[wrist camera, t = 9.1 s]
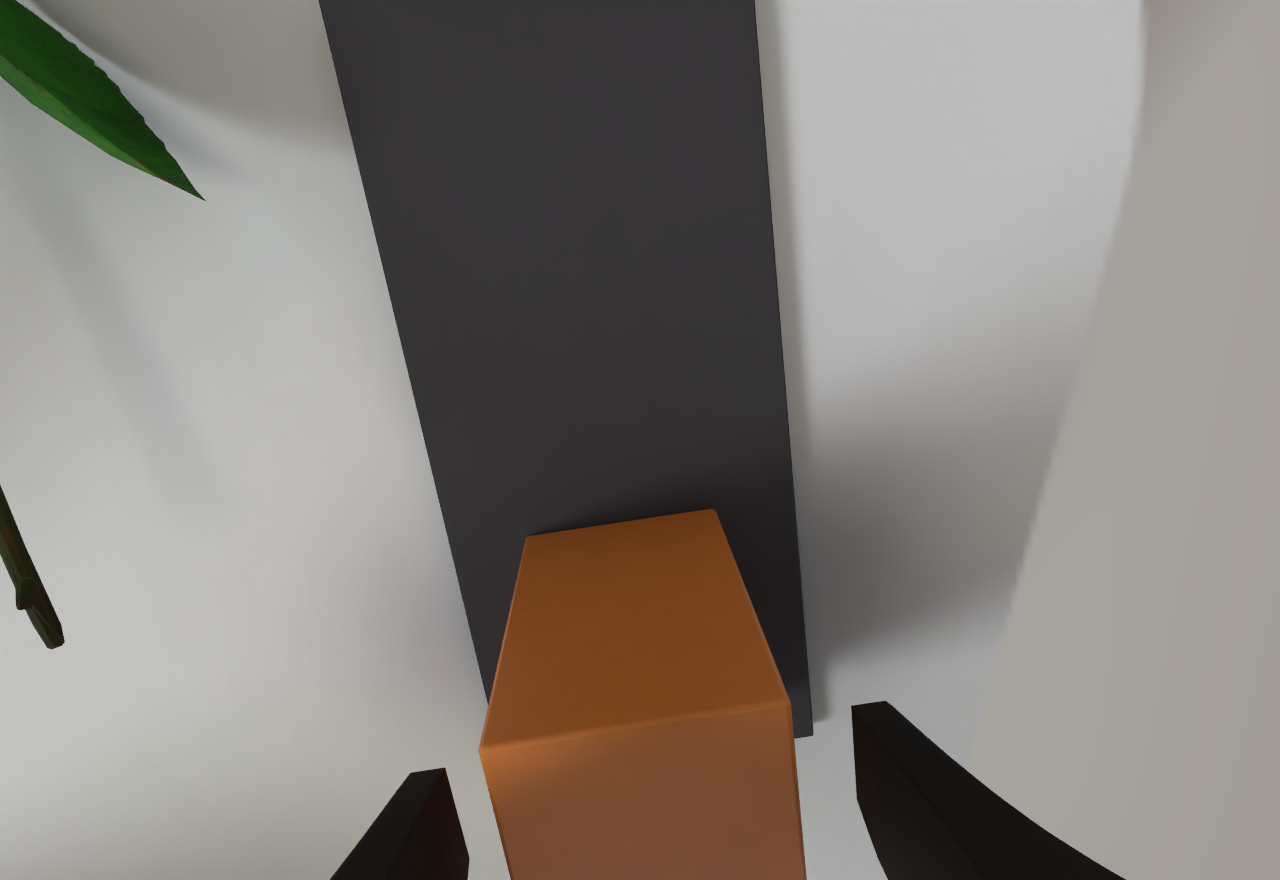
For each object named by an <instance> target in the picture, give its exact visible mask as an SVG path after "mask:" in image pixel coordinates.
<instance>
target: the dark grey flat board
mask: <svg viewBox="0 0 1280 880" xmlns="http://www.w3.org/2000/svg"><path fill="white" fill-rule="evenodd" d="M319 4H320V8H321V12H322V16H323V20H324V25H325V29H326V33H327V37H328V41H329V45H330V50H331V54H332V58H333V62H334V66H335V70H336V74H337V79H338V83H339V87H340V91H341V95H342V99H343V104H344V108H345V112H346V116H347V120H348V124H349V129H350V133H351V137H352V141H353V145H354V149H355V153H356V158H357V162H358V166H359V170H360V174H361V178H362V183H363V187H364V191H365V195H366V199H367V203H368V208H369V212H370V216H371V220H372V224H373V228H374V232H375V237H376V241H377V245H378V249H379V253H380V257H381V262H382V266H383V270H384V274H385V278H386V282H387V286H388V291H389V295H390V299H391V303H392V307H393V311H394V316H395V320H396V324H397V328H398V332H399V336H400V341H401V345H402V349H403V353H404V357H405V361H406V365H407V370H408V374H409V378H410V382H411V386H412V390H413V395H414V399H415V403H416V407H417V411H418V415H419V419H420V424H421V428H422V432H423V436H424V440H425V444H426V449H427V453H428V457H429V461H430V465H431V469H432V474H433V478H434V482H435V486H436V490H437V494H438V498H439V503H440V507H441V511H442V515H443V519H444V523H445V528H446V532H447V536H448V540H449V544H450V548H451V552H452V557H453V561H454V565H455V569H456V573H457V577H458V582H459V586H460V590H461V594H462V598H463V602H464V607H465V611H466V615H467V619H468V623H469V627H470V631H471V636H472V640H473V644H474V648H475V652H476V656H477V661H478V665H479V669H480V673H481V677H482V681H483V686H484V690H485V694H486V698H487V702H488V706H489V701H490V697H491V692H492V688H493V683H494V679H495V674H496V670H497V665H498V661H499V656H500V652H501V648H502V643H503V639H504V634H505V630H506V625H507V621H508V616H509V612H510V607H511V603H512V598H513V594H514V589H515V585H516V580H517V576H518V571H519V567H520V563H521V558H522V554H523V549H524V545H525V540H526V537H528V536H532V535H539V534H546V533H552V532H559V531H566V530H572V529H579V528H586V527H592V526H599V525H606V524H612V523H619V522H626V521H632V520H639V519H645V518H652V517H659V516H665V515H672V514H679V513H685V512H692V511H699V510H705V509H715V511H716V513H717V516H718V518H719V521H720V523H721V526H722V528H723V531H724V533H725V536H726V539H727V541H728V544H729V546H730V549H731V551H732V554H733V556H734V559H735V562H736V564H737V567H738V569H739V572H740V574H741V577H742V579H743V582H744V585H745V587H746V590H747V592H748V595H749V597H750V600H751V602H752V605H753V608H754V610H755V613H756V615H757V618H758V620H759V623H760V625H761V628H762V631H763V633H764V636H765V638H766V641H767V643H768V646H769V648H770V651H771V654H772V656H773V659H774V661H775V664H776V666H777V669H778V671H779V674H780V677H781V679H782V682H783V684H784V687H785V689H786V692H787V694H788V697H789V700H790V702H791V712H792V723H793V734H794V739H795V738H801V737H808V736H813V723H812V711H811V698H810V686H809V673H808V661H807V648H806V636H805V624H804V611H803V599H802V586H801V574H800V561H799V549H798V536H797V524H796V512H795V499H794V487H793V474H792V462H791V449H790V437H789V424H788V412H787V400H786V387H785V375H784V362H783V350H782V337H781V325H780V312H779V300H778V288H777V275H776V263H775V250H774V238H773V225H772V213H771V200H770V188H769V175H768V163H767V151H766V138H765V126H764V113H763V101H762V88H761V76H760V63H759V51H758V39H757V26H756V14H755V1H754V0H319Z"/></svg>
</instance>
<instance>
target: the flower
mask: <svg viewBox="0 0 1280 880" xmlns="http://www.w3.org/2000/svg"><path fill="white" fill-rule="evenodd" d="M0 76H1V77H2V78H3V79H4V80H6V81H7V82H8V83H9V84H10V85H11V86H12V87H13V88H15V89H16V90H17V91H18V92H19V93H20V94H21V95H23V96H24V97H25V98H26V99H27V100H28V101H29V102H31V103H32V104H33V105H35V106H36V107H38V108H39V109H41V110H43V111H44V112H46V113H47V114H49V115H50V116H52V117H53V118H55V119H56V120H58V121H59V122H61V123H62V124H64V125H65V126H67V127H68V128H70V129H71V130H73V131H74V132H76V133H77V134H79V135H81V136H82V137H84V138H85V139H87V140H88V141H90V142H91V143H93V144H94V145H96V146H97V147H99V148H100V149H102V150H103V151H105V152H106V153H108V154H109V155H111V156H113V157H115V158H117V159H119V160H121V161H123V162H125V163H127V164H129V165H131V166H133V167H135V168H138V169H140V170H142V171H144V172H146V173H149V174H151V175H153V176H155V177H157V178H160V179H162V180H164V181H166V182H168V183H170V184H172V185H174V186H176V187H178V188H180V189H182V190H184V191H186V192H188V193H190V194H192V195H194V196H196V197H198V198H200V199H202V200H204V201H206V200H205V199H204V198H203V197H202V196H201V195H200V194H199V193H198V192H197V191H196V190H195V188H194V187H193V186H192V184H191V183H190V181H189V180H188V178H187V177H186V175H185V174H184V172H183V171H182V169H181V168H180V166H179V165H178V163H177V161H176V160H175V159H174V158H173V157H172V156H171V155H170V153H169V152H168V151H167V150H166V148H165V145H164V142H163V141H161V140H160V139H159V138H158V137H157V136H156V135H155V134H154V133H153V131H152V130H151V129H150V128H149V127H148V126H147V125H146V124H145V121H144V117H143V116H142V115H141V114H140V113H139V112H138V111H137V110H136V109H135V108H134V107H133V106H132V105H131V104H130V103H129V102H128V100H127V99H126V98H125V97H124V96H123V95H122V93H121V92H120V89H119V87H118V86H117V85H116V84H115V83H114V82H113V81H111V80H110V79H109V78H108V77H107V75H106V73H105V72H104V71H103V70H101V69H100V68H98V67H97V66H95V65H94V61H93V60H92V59H90V58H89V57H87V56H86V55H85V54H83V53H82V52H81V51H79V50H78V48H77V46H76V45H75V44H73V43H71V42H69V41H67V40H66V39H65V38H64V37H63V36H62V35H61V33H59V32H58V31H56V30H55V29H54V28H52V27H51V26H49V25H48V24H47V23H46V22H44V21H43V20H42V19H40V18H39V17H38V16H36V15H35V14H34V13H33V12H31V11H30V10H28V9H27V8H25V7H24V6H23V5H21V4H20V3H18V2H17V1H16V0H0ZM0 555H1V557H2V559H3V562H4V564H5V566H6V568H7V571H8V573H9V575H10V577H11V580H12V582H13V584H14V586H15V589H16V606H17V609H18V610H23V609H25V610H26V612H27V614H28V616H29V618H30V620H31V622H32V624H33V626H34V628H35V629H36V631H37V632H38V634H39V635H40V637H41V639H42V640H43V642H44V643H45V645H46V646H47V648H50V649H54V648H56V647H59V646H62V645H63V643H64V642H65V641H64V636H63V632H62V627H61V623H60V621H59V619H58V617H57V615H56V613H55V610H54V608H53V606H52V604H51V602H50V599H49V597H48V595H47V593H46V591H45V588H44V586H43V584H42V582H41V580H40V577H39V575H38V573H37V571H36V569H35V567H34V564H33V562H32V560H31V558H30V556H29V553H28V551H27V549H26V547H25V545H24V542H23V540H22V537H21V535H20V532H19V530H18V527H17V525H16V522H15V520H14V518H13V515H12V513H11V510H10V508H9V505H8V503H7V500H6V498H5V496H4V493H3V491H2V488H1V486H0Z"/></svg>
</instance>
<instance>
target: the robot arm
mask: <svg viewBox="0 0 1280 880" xmlns="http://www.w3.org/2000/svg"><path fill="white" fill-rule="evenodd" d="M851 709H852V726H853V742H854V758H855V775H856V791H857V801H858V804H859V806H860V809H861V812H862V815H863V818H864V821H865V824H866V827H867V829H868V832H869V835H870V838H871V841H872V843H873V846H874V849H875V851H876V854H877V857H878V859H879V861H880V864H881V866H882V868H883V870H884V872H885V874H886V876H887V878H888V880H1126V879H1124V878H1122V877H1120V876H1118V875H1117V874H1115V873H1113V872H1111V871H1110V870H1108V869H1106V868H1105V867H1103V866H1101V865H1100V864H1098V863H1096V862H1095V861H1093V860H1091V859H1090V858H1088V857H1087V856H1085V855H1083V854H1082V853H1080V852H1079V851H1077V850H1075V849H1074V848H1072V847H1071V846H1069V845H1068V844H1066V843H1065V842H1063V841H1061V840H1060V839H1058V838H1057V837H1055V836H1053V835H1052V834H1051V833H1049V832H1047V831H1046V830H1044V829H1043V828H1042V827H1040V826H1039V825H1037V824H1036V823H1035V822H1033V821H1032V820H1030V819H1029V818H1028V817H1026V816H1025V815H1024V814H1022V813H1021V812H1019V811H1018V810H1017V809H1015V808H1014V807H1013V806H1011V805H1010V804H1009V803H1007V802H1006V801H1004V800H1003V799H1002V798H1001V797H999V796H998V795H997V794H995V793H994V792H993V791H991V790H990V789H989V788H988V787H986V786H985V785H984V784H983V783H981V782H980V781H979V780H978V779H976V778H975V777H974V776H973V775H972V774H970V773H969V772H968V771H967V770H965V769H964V768H963V767H962V766H960V765H959V764H958V763H957V762H956V761H954V760H953V759H952V758H951V757H950V756H948V755H947V754H946V753H945V752H944V751H943V750H941V749H940V748H939V747H938V746H937V745H936V744H934V743H933V742H932V741H931V740H930V739H929V738H928V737H926V736H925V735H924V734H923V733H922V732H921V731H920V730H919V729H917V728H916V727H915V726H914V725H913V724H912V723H911V722H910V721H909V720H907V719H906V718H905V717H904V716H903V715H902V714H901V713H900V712H899V711H897V710H896V709H895V708H894V707H893V706H892V705H890V704H889V703H888V702H887V701H881V702H874V703H867V704H861V705H854V706H851ZM469 859H470V858H469V855H468V851H467V847H466V844H465V840H464V836H463V832H462V829H461V825H460V821H459V818H458V814H457V810H456V806H455V803H454V799H453V795H452V792H451V788H450V784H449V780H448V777H447V773H446V769H445V768H439V769H433V770H426V771H420V772H413V773H410V774H409V776H408V777H407V778H406V780H405V781H404V782H403V783H402V785H401V786H400V787H399V789H398V790H397V791H396V793H395V794H394V795H393V797H392V798H391V799H390V801H389V802H388V803H387V805H386V806H385V808H384V809H383V810H382V812H381V813H380V814H379V816H378V817H377V818H376V820H375V821H374V822H373V824H372V825H371V826H370V828H369V829H368V831H367V832H366V833H365V835H364V836H363V837H362V839H361V840H360V841H359V843H358V844H357V845H356V846H355V848H354V849H353V850H352V852H351V853H350V854H349V855H348V857H347V858H346V859H345V861H344V862H343V863H342V865H341V866H340V867H339V868H338V870H337V871H336V872H335V874H334V875H333V876H332V877H331V879H330V880H467V879H468V869H469Z"/></svg>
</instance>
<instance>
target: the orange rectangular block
mask: <svg viewBox="0 0 1280 880" xmlns="http://www.w3.org/2000/svg"><path fill="white" fill-rule="evenodd" d="M479 754H480V758H481V762H482V766H483V770H484V774H485V778H486V782H487V786H488V790H489V794H490V798H491V802H492V806H493V810H494V814H495V818H496V822H497V826H498V830H499V834H500V838H501V842H502V846H503V850H504V854H505V858H506V862H507V866H508V870H509V874H510V878H511V880H807V878H806V867H805V856H804V845H803V834H802V823H801V812H800V801H799V790H798V779H797V767H796V756H795V745H794V734H793V723H792V712H791V702H790V700H789V697H788V694H787V692H786V689H785V687H784V684H783V682H782V679H781V677H780V674H779V671H778V669H777V666H776V664H775V661H774V659H773V656H772V654H771V651H770V648H769V646H768V643H767V641H766V638H765V636H764V633H763V631H762V628H761V625H760V623H759V620H758V618H757V615H756V613H755V610H754V608H753V605H752V602H751V600H750V597H749V595H748V592H747V590H746V587H745V585H744V582H743V579H742V577H741V574H740V572H739V569H738V567H737V564H736V562H735V559H734V556H733V554H732V551H731V549H730V546H729V544H728V541H727V539H726V536H725V533H724V531H723V528H722V526H721V523H720V521H719V518H718V516H717V513H716V511H715V509H705V510H699V511H692V512H685V513H679V514H672V515H665V516H659V517H652V518H645V519H639V520H632V521H626V522H619V523H612V524H606V525H599V526H592V527H586V528H579V529H572V530H566V531H559V532H552V533H546V534H539V535H532V536H528V537H526V540H525V545H524V549H523V554H522V558H521V563H520V567H519V571H518V576H517V580H516V585H515V589H514V594H513V598H512V603H511V607H510V612H509V616H508V621H507V625H506V630H505V634H504V639H503V643H502V648H501V652H500V656H499V661H498V665H497V670H496V674H495V679H494V683H493V688H492V692H491V697H490V701H489V706H488V710H487V715H486V719H485V724H484V728H483V733H482V737H481V741H480V746H479Z"/></svg>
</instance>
